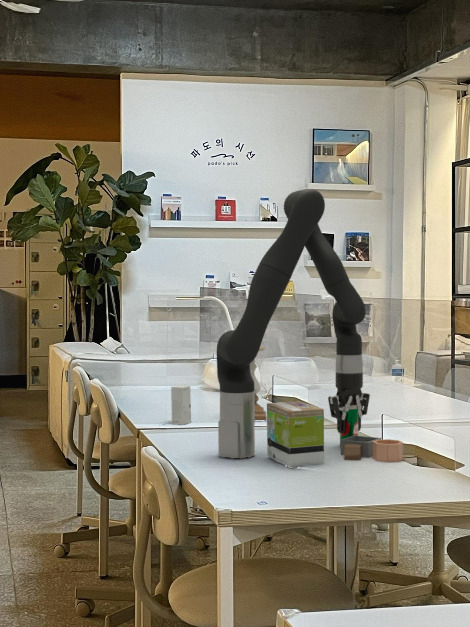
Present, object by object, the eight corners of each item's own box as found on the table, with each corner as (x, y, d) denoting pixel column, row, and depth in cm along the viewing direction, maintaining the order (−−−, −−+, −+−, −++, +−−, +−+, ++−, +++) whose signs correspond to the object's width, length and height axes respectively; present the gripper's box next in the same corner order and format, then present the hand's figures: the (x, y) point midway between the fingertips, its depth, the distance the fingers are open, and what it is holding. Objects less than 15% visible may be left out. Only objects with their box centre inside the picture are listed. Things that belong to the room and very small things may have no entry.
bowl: (395, 465, 241) (395, 445, 241) (369, 462, 245) (369, 442, 245) (406, 460, 247) (406, 441, 247) (380, 457, 251) (380, 438, 251)
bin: (368, 459, 248) (368, 442, 248) (340, 456, 252) (340, 439, 252) (381, 454, 255) (381, 438, 255) (354, 451, 259) (354, 435, 259)
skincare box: (183, 425, 306) (183, 387, 305) (170, 424, 307) (170, 386, 307) (191, 422, 311) (191, 385, 311) (179, 421, 313) (179, 384, 313)
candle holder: (266, 421, 312) (265, 348, 311) (232, 421, 312) (232, 348, 311) (265, 416, 323) (265, 345, 322) (233, 416, 323) (233, 346, 322)
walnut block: (359, 462, 245) (359, 447, 245) (344, 462, 246) (344, 446, 246) (361, 459, 249) (361, 444, 249) (345, 459, 250) (345, 444, 249)
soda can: (357, 449, 263) (357, 405, 262) (339, 448, 264) (339, 405, 263) (358, 446, 267) (358, 403, 267) (340, 445, 268) (340, 403, 268)
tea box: (265, 458, 251) (265, 402, 251) (300, 455, 255) (300, 400, 254) (289, 469, 237) (288, 409, 237) (325, 466, 241) (325, 407, 240)
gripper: (339, 373, 257) (339, 436, 258) (377, 370, 266) (377, 431, 267) (320, 371, 263) (320, 432, 264) (358, 368, 272) (358, 427, 273)
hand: (349, 431), depth 265 cm, fingers closed on soda can, 5 cm apart
